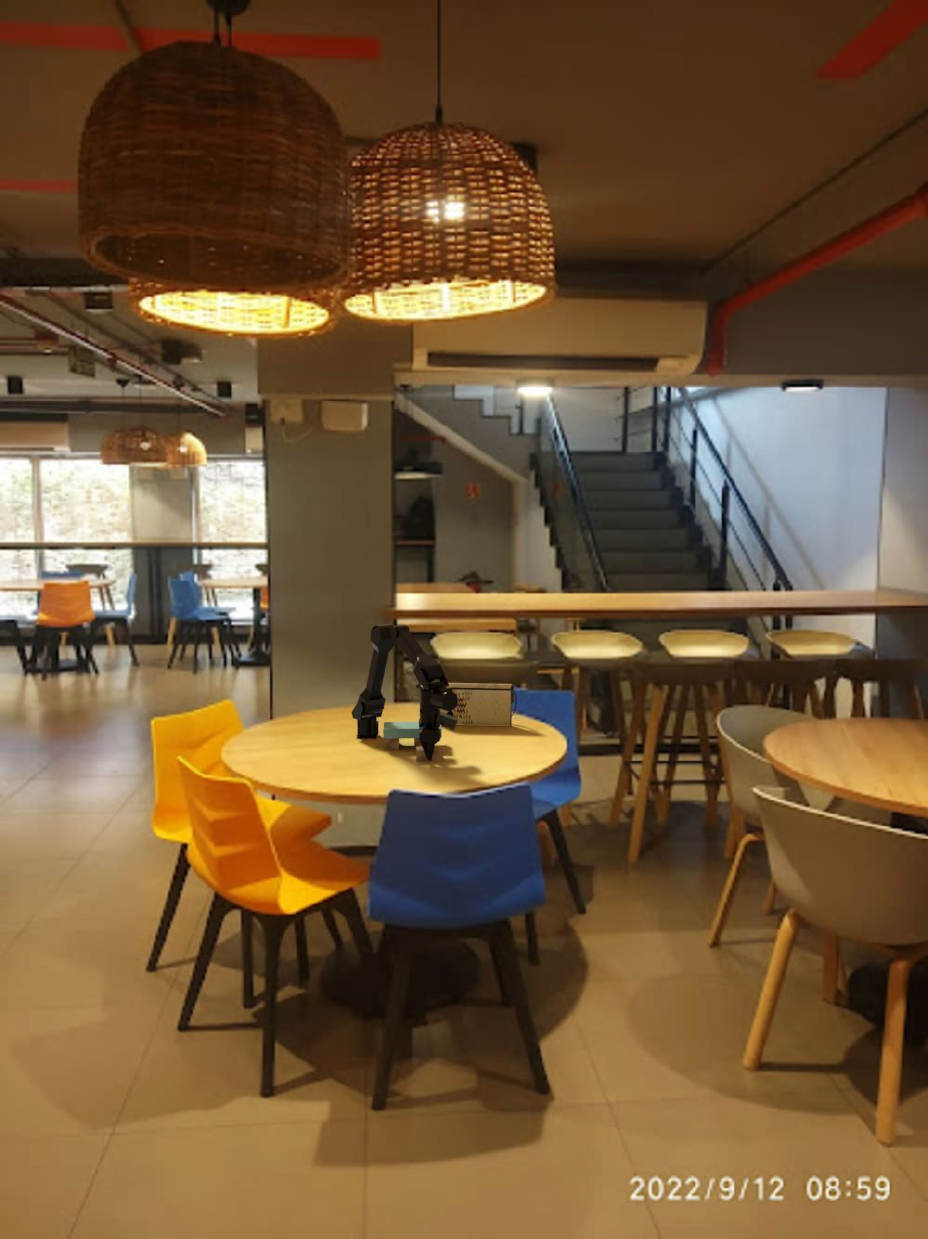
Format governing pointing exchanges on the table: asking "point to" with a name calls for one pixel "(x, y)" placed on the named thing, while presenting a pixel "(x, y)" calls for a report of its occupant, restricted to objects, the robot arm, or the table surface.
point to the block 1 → (392, 744)
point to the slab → (402, 730)
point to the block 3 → (436, 756)
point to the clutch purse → (484, 703)
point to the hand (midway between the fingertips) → (429, 755)
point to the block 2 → (417, 743)
